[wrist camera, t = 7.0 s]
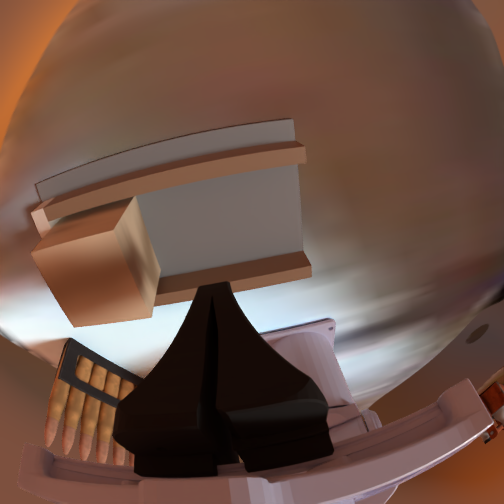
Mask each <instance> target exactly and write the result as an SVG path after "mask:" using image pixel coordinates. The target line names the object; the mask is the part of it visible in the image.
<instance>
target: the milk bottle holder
mask: <svg viewBox="0 0 504 504" xmlns="http://www.w3.org/2000/svg"><path fill="white" fill-rule="evenodd" d="M479 397H480V399H481V400H482V402H483V404H484V406H485V407H486V409H487V411H488V413H489V414H490V416H491V418H492V420H493V419H495V420H496V422H497V424H498V426H497V427H496V426H495V424H494V421H493V425H491V426H490V427H489V428H488V429H487V430H486V431H484V432H483V433H482V434H481V435H480V437H482V439H483V441H484V443H485V444H486V443H487V442H489V441H490V440H491V439H494V438H495V437H496V436H497V435H498V432H500V431H501V430H504V384H503V385H502V384H499V383H498V382H495V383H494V384H493V385H492V386H491V387H490V388H489V389H487V390H486V391H485V392H484V393H483V394H482V395H481V396H479Z"/></svg>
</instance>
